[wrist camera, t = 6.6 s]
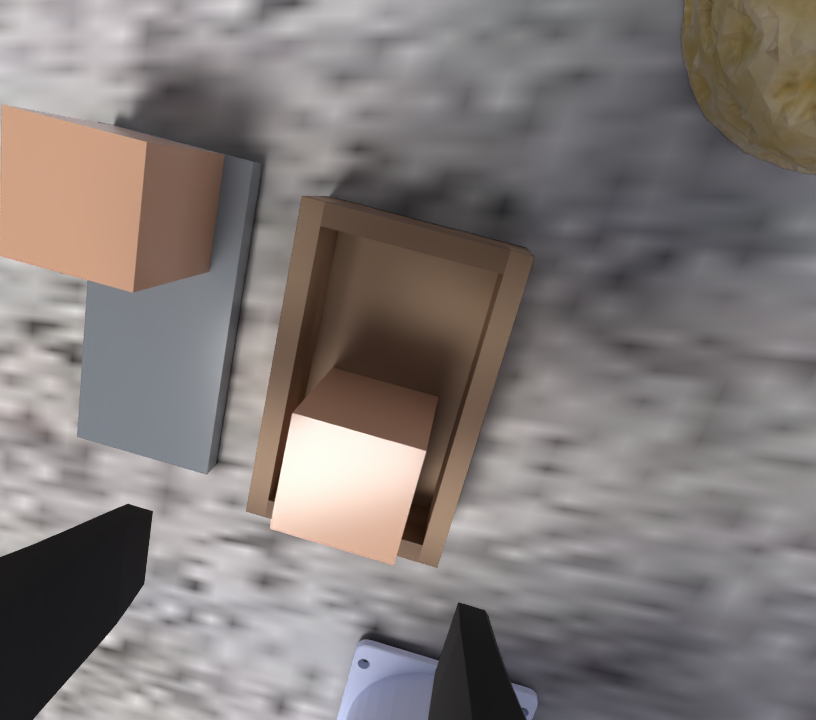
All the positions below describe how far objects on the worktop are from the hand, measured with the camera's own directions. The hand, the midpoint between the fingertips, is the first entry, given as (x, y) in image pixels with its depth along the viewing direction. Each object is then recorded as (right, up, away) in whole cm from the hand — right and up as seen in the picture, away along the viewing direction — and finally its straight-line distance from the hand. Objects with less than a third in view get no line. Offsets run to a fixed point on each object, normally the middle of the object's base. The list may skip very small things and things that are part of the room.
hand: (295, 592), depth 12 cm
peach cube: (+1, +3, +8) cm, 9 cm away
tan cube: (-6, +11, +7) cm, 14 cm away
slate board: (-7, +7, +9) cm, 13 cm away
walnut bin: (+2, +5, +8) cm, 10 cm away
